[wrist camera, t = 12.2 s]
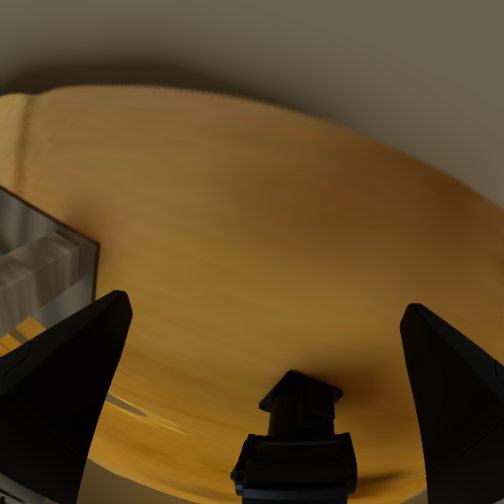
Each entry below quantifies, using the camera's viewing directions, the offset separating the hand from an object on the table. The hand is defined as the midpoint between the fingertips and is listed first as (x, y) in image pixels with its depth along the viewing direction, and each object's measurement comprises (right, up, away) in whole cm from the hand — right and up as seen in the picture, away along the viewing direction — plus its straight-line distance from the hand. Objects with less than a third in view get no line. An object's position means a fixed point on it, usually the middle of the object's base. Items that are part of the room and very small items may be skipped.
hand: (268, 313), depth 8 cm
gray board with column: (-29, +1, +17) cm, 34 cm away
